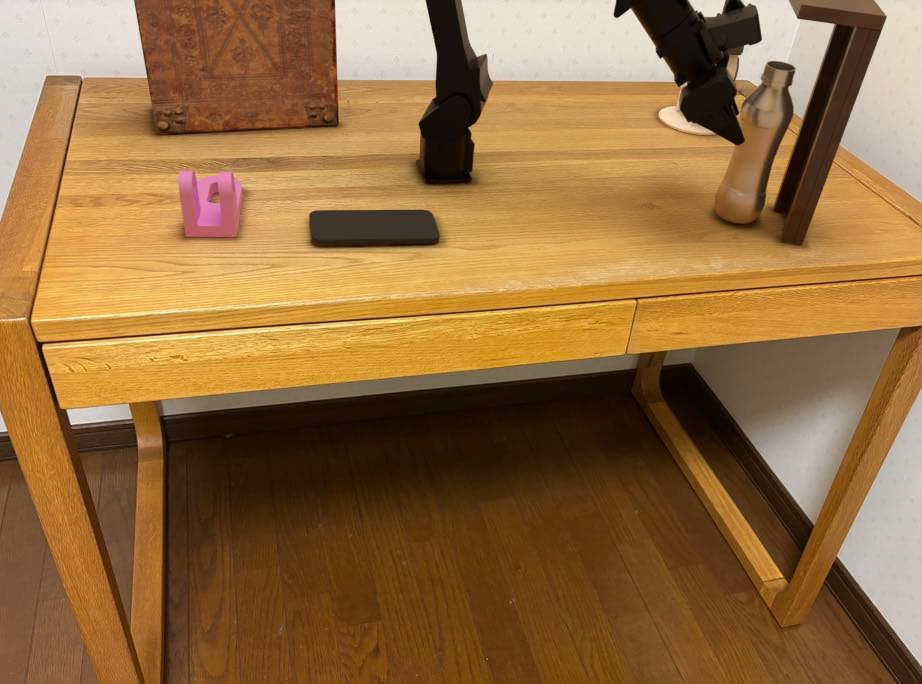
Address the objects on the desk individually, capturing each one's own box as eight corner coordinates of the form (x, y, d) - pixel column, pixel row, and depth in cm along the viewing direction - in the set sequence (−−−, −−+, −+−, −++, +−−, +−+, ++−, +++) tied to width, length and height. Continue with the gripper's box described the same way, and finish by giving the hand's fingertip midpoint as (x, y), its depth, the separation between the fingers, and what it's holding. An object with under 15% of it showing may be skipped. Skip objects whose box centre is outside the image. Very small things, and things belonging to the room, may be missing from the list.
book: (326, 102, 131) (318, -123, 111) (339, 126, 124) (333, -109, 105) (151, 109, 122) (111, -133, 103) (155, 135, 116) (113, -118, 97)
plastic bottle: (761, 213, 115) (810, 63, 102) (755, 234, 110) (806, 79, 97) (714, 202, 116) (756, 52, 104) (706, 222, 111) (750, 68, 99)
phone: (441, 238, 100) (311, 240, 96) (440, 244, 100) (312, 246, 97) (431, 209, 105) (308, 209, 102) (431, 215, 106) (308, 216, 102)
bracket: (236, 237, 97) (230, 180, 93) (186, 236, 96) (177, 179, 92) (244, 186, 107) (238, 133, 103) (198, 185, 106) (190, 131, 102)
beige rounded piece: (740, 136, 136) (769, 39, 126) (676, 137, 133) (700, 38, 124) (708, 107, 145) (733, 15, 135) (648, 107, 142) (668, 13, 132)
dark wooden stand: (730, 234, 109) (801, 4, 92) (725, 200, 117) (790, -18, 99) (802, 245, 109) (887, 16, 91) (792, 210, 117) (869, -7, 99)
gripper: (740, -1, 88) (810, 118, 95) (728, -41, 102) (789, 66, 109) (648, 64, 94) (721, 173, 100) (649, 18, 108) (712, 116, 114)
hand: (738, 129), depth 106 cm, fingers open, 9 cm apart
